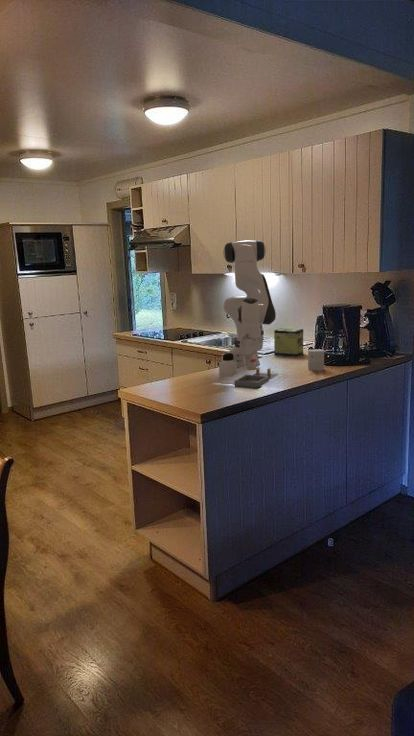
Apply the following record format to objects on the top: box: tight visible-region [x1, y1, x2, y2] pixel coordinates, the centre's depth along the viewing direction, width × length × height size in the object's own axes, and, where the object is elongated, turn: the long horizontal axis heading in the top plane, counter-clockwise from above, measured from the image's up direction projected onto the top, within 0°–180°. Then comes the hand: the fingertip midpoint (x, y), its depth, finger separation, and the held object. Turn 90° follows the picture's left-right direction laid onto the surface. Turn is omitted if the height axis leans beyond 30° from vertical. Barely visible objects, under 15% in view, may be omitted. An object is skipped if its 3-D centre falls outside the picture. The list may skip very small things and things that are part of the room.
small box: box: [307, 348, 325, 371], centre depth 280 cm, size 8×6×10 cm
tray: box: [234, 374, 269, 390], centre depth 253 cm, size 12×14×3 cm
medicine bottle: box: [218, 352, 238, 378], centre depth 272 cm, size 7×7×12 cm
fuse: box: [246, 351, 257, 371], centre depth 250 cm, size 4×4×9 cm
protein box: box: [273, 327, 304, 357], centre depth 324 cm, size 10×16×16 cm
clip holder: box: [253, 367, 279, 380], centre depth 265 cm, size 12×12×5 cm
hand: (251, 362), depth 251 cm, fingers closed on fuse, 4 cm apart
